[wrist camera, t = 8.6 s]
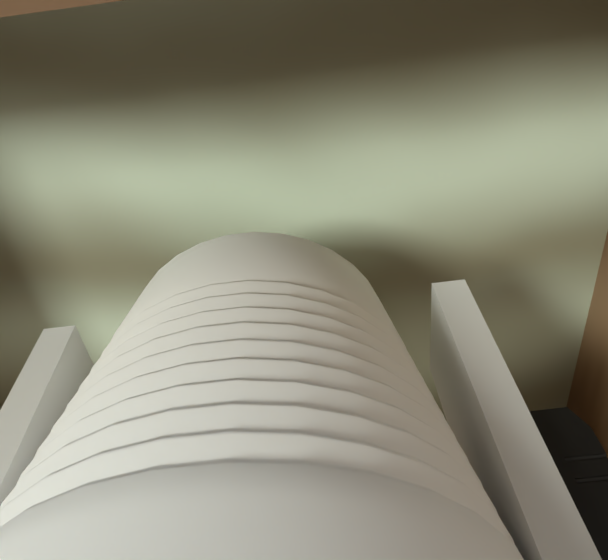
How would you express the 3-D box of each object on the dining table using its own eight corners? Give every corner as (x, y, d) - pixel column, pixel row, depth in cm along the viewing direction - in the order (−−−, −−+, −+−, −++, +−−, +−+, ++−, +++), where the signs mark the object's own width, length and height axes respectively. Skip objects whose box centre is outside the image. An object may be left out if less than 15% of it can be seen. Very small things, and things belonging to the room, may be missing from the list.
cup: (98, 66, 10) (-1157, 1277, 1) (536, 228, 13) (1169, 1039, 4) (35, 410, 15) (-304, 1132, 6) (355, 479, 18) (436, 1073, 9)
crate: (-302, -29, 12) (-703, 24, 7) (726, -176, 11) (1074, -230, 6) (30, 474, 22) (-40, 637, 17) (577, 414, 22) (665, 566, 17)
